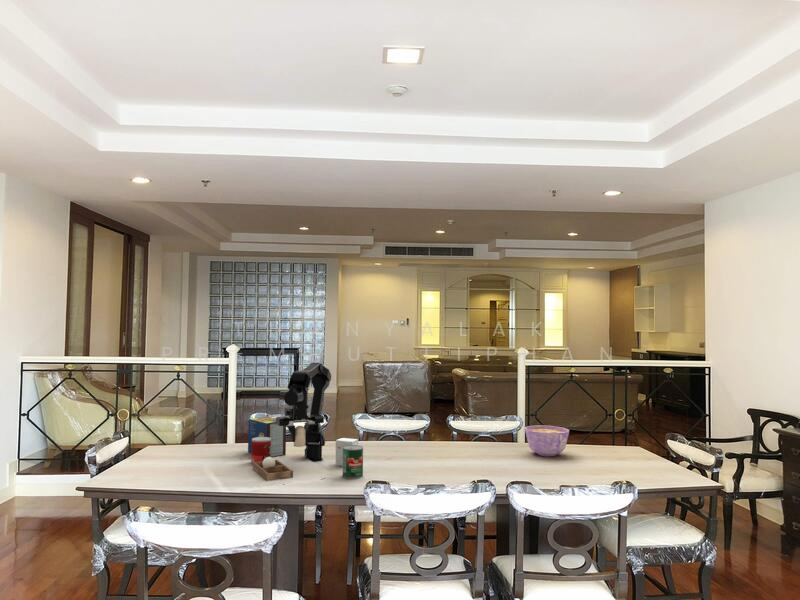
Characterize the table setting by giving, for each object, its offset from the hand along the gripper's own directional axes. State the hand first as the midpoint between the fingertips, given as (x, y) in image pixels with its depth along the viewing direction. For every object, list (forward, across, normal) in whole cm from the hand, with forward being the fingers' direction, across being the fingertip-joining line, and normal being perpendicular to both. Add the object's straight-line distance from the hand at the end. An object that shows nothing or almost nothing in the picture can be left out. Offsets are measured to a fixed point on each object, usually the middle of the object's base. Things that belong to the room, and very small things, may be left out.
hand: (299, 441), depth 224 cm
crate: (+11, +12, +5) cm, 17 cm away
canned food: (+11, +12, -13) cm, 21 cm away
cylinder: (+2, 0, 0) cm, 2 cm away
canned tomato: (+11, -15, +19) cm, 27 cm away
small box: (+11, -20, +2) cm, 23 cm away
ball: (+10, +12, 0) cm, 16 cm away
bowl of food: (+11, -110, +25) cm, 113 cm away
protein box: (+11, +4, -33) cm, 35 cm away
